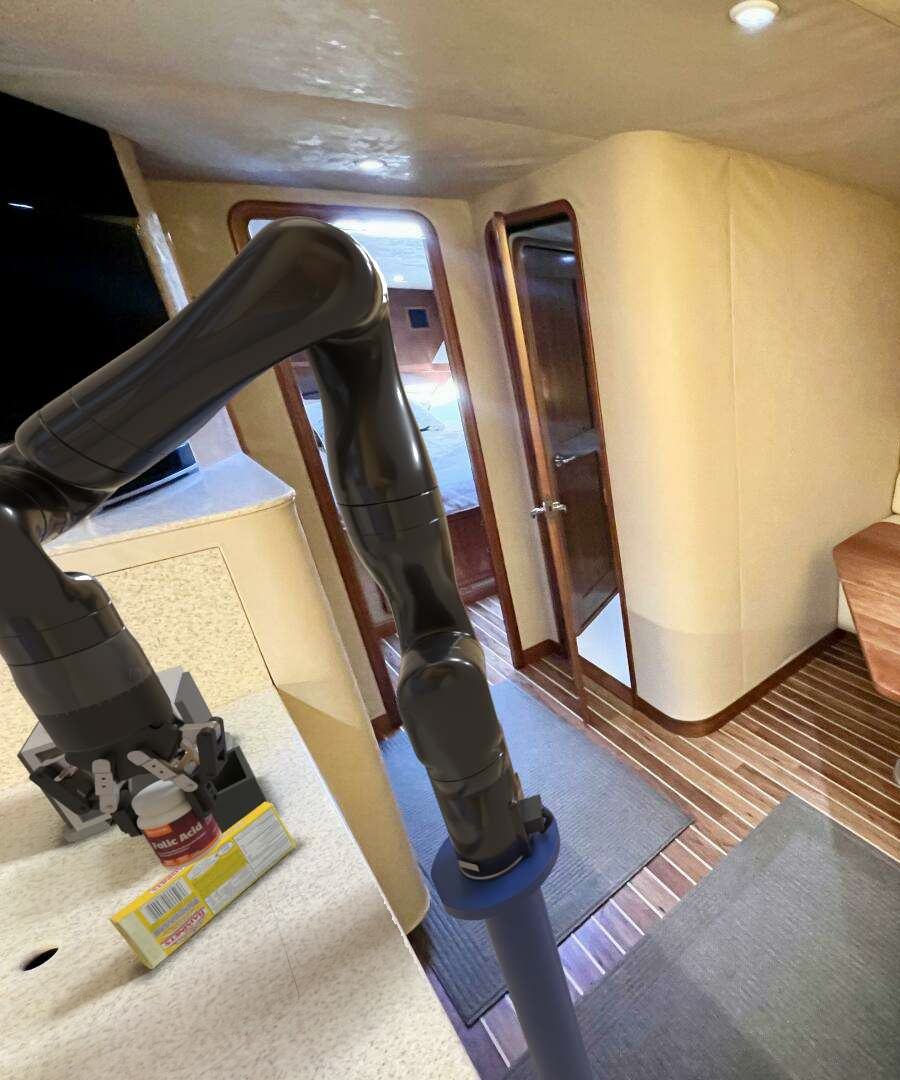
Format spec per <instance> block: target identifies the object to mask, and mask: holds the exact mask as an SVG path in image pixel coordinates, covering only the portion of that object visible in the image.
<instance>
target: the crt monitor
mask: <svg viewBox="0 0 900 1080" xmlns="http://www.w3.org/2000/svg"><path fill="white" fill-rule="evenodd" d="M155 673H156V675H157V677H158V678H159V680H160V682H161V684H162V686H163V687H164V689H165V691H166V693H167V695H168V697H169V698H170V701H171V705H172V710H173V713H174V714H175V715H176V716H177V717H179V718H180V719H182V720H184V721H185V722H186V724H194V723H207V721H208V720H209V719H210V718H211V717H214V715H213V714H212V712H211V710H210V708H209V706H208V704H207V703H206V701H205V699H204V696H203V695H202V693H201V691H200V689H199V687H198V685H197V683H196V682H195V680H194V678H193V676H192V673H191V672H190V671H185V670H184V668H183V667H182V665H176V666H173V667H170V668H167V669H163V670H160V671H157V672H156V671H155ZM225 740H226V750H227V751H228V750H230V749H233V747H234V746H233V743H234V739H233V736H232V734H231V732H229V731H225ZM182 742H183V743H184V744H186V745H187V746H188V747H189V748H191V749H192V750H193V751H194V753H195V757H196V758H197V759H198V760H199V755H198V747H197V748H193V747H192V743H191V741H190V740H189V739H187V738H183V740H182ZM53 754H65V751H62V750H60V749H58V748H57V747H56V745H55V744H54V742H53V741H52V739H51V738H50V736H49V735H48V733H47V732H46V730H45V729H44V727H43V726H42V724H41V723H40V721H39V720H38V721H37V723H36V724H35V726H34V728H33V729H32V731H31V732H30V734H29V735H28V737H27V738H26V740H25V741H24V743H23V745H22V746H21V748H20V750H19V751H18V753H17V754H16V757H17V759H18V760H19V761H20V763H21V764H22V765H23V767H24V768H25V769H26V771H27V772H28V774H29V775H30V774H31V773H32V772H34V771H35V769H36V768H37V767H38V766H39V765H41V764H42V763H43V762H44V761H45V760H47V759H48V758H49V757H50V756H51V755H53ZM173 760H174V757H173V758H172V759H171V761H170V762H169V764H170V765H171V763H172V762H173ZM82 770H83V769H82ZM83 771H85V772H86V773H87V774H88V775H90V776H91V777H92V778H93V779H94V780H95V777H94V773H91V772H89V771H86V770H83ZM160 780H161V779H159V778H158V777H157V776H155V775H154V774H152V773H150V774H141V775H136V776H134V777H132V792H131V795H132V794H136V793H139V792H141V791H142V790H143V789H145V788H146V787H148V786H149V785H151V784H153V783H155V782H157V781H160ZM39 789H40V790H41V792H42V793H43V794H44V796H45V797H46V799H47V800H48V801H49V802H50V804H51V805H52V807H53V809H54V810H55V811H56V812H57V814H58V815H59V817H60V818H61V819H62V821H63V822H64V823H65V824H64V826H63V829H62V831H61V835H62V836H63V838H64V839H65V840H66V842H68V843H69V844H70V843H71V844H72V843H76V842H79V841H82V840H83V839H85V838H89V837H91V836H93V835H96V834H98V833H101V832H103V831H105V830H108V829H110V827H111V824H112V822H113V818H112V817H111V815H110V814H109V813H103V812H102V811H101V810H90V811H89V812H88V813H87V814H84V815H77V814H75V813H73V812H72V811H71V810H69V809H68V808H67V807H65V806H64V805H63V804H61V803H60V802H59V801H57V800H56V799H55V798H53V797H52V796H51V795H49V794H48V793H47V792H45V791H44V790H43V789H41V788H40V787H39ZM77 792H78V793H79V794H81V795H82V796H83V797H84V796H85V795H84V794H83V793H82V792H80V791H79V790H78V789H77Z"/></svg>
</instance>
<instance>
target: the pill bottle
mask: <svg viewBox="0 0 900 1080" xmlns="http://www.w3.org/2000/svg"><path fill="white" fill-rule="evenodd" d="M184 793H185V791H184V790H182V789H181V788H180V787H178V786H177V785H176V784H174V783H173V782H171V781H162V780H160V781H157V782H155V783H153V784H151V785H149V786H148V787H146V788H145V789H143V790H142V791H141V792H139V793H138V794H137V795H136V796H135V797H134V798H133V800H132V803H131V805H132V807H133V809H134V811H135V813H136V814H137V815H138V819H137V826H138V828H139V829H140V830H141V832H142V834H143V835H142V836H143V837H144V838H145V840H146V841H147V844H149V846H150V848H151V849H152V851H153V853H154V854H155V856H156V858H157V860H158V861H159V862H160V864H161V865H162V867H163V868H164V869H166V870H175V869H179V868H182V867H185V866H188V865H191V864H193V863H195V862H197V861H199V860H200V859H202V858H203V857H205V856H206V855H208V854H209V853H210V852H211V851H212V850H213V849H214V848H215V847H216V846H217V845H218V843H219V842H220V839H221V836H222V833H221V831H220V829H219V827H218V825H217V823H216V821H215V820H214V818H213V816H212V814H210V815H209V816H207V817H204V818H200V819H198V818H197V816H196V814H195V813H194V811H193V809H192V808H191V806H190V804H189V803H188V801H187V799H186V797H185V796H184Z"/></svg>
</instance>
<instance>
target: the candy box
mask: <svg viewBox="0 0 900 1080" xmlns="http://www.w3.org/2000/svg"><path fill="white" fill-rule="evenodd" d="M296 848H297V845H296V842H295V841H294V839H293V837H292V836H291V834H290V833H289V831H288V830H287V827H286V826H285V824H284V822H283V821H282V819H281V817H280V815H279V813H278V812H277V810H276V808H275V805H274V804H273V803H272V802H268V801H267V802H264V803H262V804H261V805H260V806H258V807H257V808H256V809H254V810H253V811H252V812H250V813H249V814H248V815H246V816H245V817H244V818H242V819H241V820H240V821H238V822H237V823H236V824H234V825H233V826H232V827H231V828H229V829H228V830H227V831H225V832H224V833H223V834H222V836H221V839H220V842H219V843H218V845H217V846H216V847H215V848H214V849H213V850H212V851H211V852H210V853H209V854H208V855H206V856H205V857H203V858H202V859H200V860H199V861H197V862H195V863H193V864H191V865H188V866H185V867H182V868H179V869H172V871H170V873H168V874H167V875H166V876H165V875H164V877H163V878H161V879H160V880H158V881H157V882H156V883H155V884H152V886H151V887H149V888H148V889H146V890H145V891H144V892H143V893H142V894H140V895H138V897H136V898H135V899H133V900H132V901H131V902H129V903H128V904H126V905H125V906H124V907H123V908H121V909H119V911H118V912H116V913H115V914H113V915H111V917H109V918H108V920H109V922H110V923H111V924H112V925H113V927H114V928H115V929H116V931H117V932H118V933H119V934H120V936H121V937H122V938H123V940H124V941H125V942H126V943H127V944H128V945H129V947H130V948H131V950H132V951H133V952H134V954H135V955H136V956H137V958H138V959H139V960H140V962H141V963H142V964H143V965H144V966H145V967H146V968H148V969H150V970H153V969H155V968H156V967H157V966H158V965H160V964H161V963H162V962H164V960H165V959H167V958H168V957H169V956H170V955H171V954H172V953H174V952H175V951H176V950H177V949H178V948H179V947H181V946H182V945H183V944H184V943H185V942H186V941H188V939H190V938H191V937H192V936H193V935H194V934H196V933H198V931H199V930H201V929H202V928H203V927H204V926H205V925H207V924H208V923H209V922H210V921H211V920H212V919H214V918H215V917H216V915H218V914H220V912H221V911H222V910H224V909H225V908H227V906H228V905H229V904H231V903H232V902H233V901H234V900H235V899H237V898H238V897H239V896H240V895H241V894H242V893H244V891H246V890H247V889H248V888H249V887H251V886H252V885H253V884H254V883H255V882H256V881H258V880H259V879H260V878H261V877H262V876H263V875H265V874H266V873H267V872H268V871H269V870H270V869H272V868H273V867H274V866H275V865H276V864H278V863H279V861H281V860H282V859H283V858H284V857H286V856H287V855H288V854H289V853H290V852H292V851H293V850H294V849H296Z"/></svg>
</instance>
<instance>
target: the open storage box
mask: <svg viewBox="0 0 900 1080" xmlns="http://www.w3.org/2000/svg"><path fill="white" fill-rule="evenodd" d="M185 771H186V770H185ZM186 772H187V771H186ZM188 773H189V772H188ZM189 774H190V773H189ZM212 783H213V784H214V786H215V789H216V790H217V792H218V794H219V800H218V802H217V804H216V805H215V807H214V809H213V810H212V812H211V814H212V816H213V818H214V820H215V821H216V823H217V825H218V827H219V829H220V831H221V833H222V834H223V833H224V832H225V831H227V830H228V829H229V828H231V827H232V826H233V825H234V824H236V823H237V822H238V821H240V820H241V819H242V818H244V817H245V816H246V815H248V814H249V813H250V812H252V811H253V810H254V809H256V808H257V807H258V806H260V805H261V804H262V803H264V802H268V800H267V798H266V796H265V793H264V791H263V789H262V787H261V785H260V783H259V780H258V779H257V777H256V775H255V773H254V770H253V769H252V767H251V765H250V764H249V762H248V759H247V757H246V755H245V754H244V752H243V749H242V748H241V746H240V745H237V746H235V747H232V749H230V750H228V751H227V762H226V763H225V765H224V767H223V768H222V770H221V771H220V773H219V774H218V776H217V777H216V779H214V780H212Z"/></svg>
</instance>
